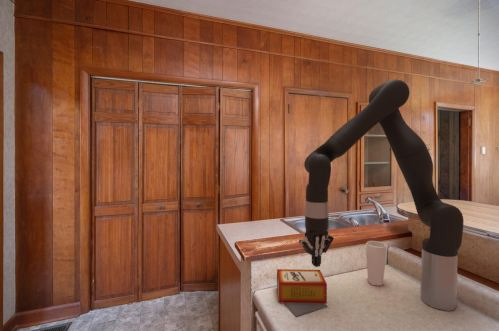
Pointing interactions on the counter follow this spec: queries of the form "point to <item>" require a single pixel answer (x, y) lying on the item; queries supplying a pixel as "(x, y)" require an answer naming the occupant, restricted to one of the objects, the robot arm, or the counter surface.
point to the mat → (303, 307)
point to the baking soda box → (301, 286)
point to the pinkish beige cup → (375, 262)
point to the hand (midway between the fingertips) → (316, 265)
